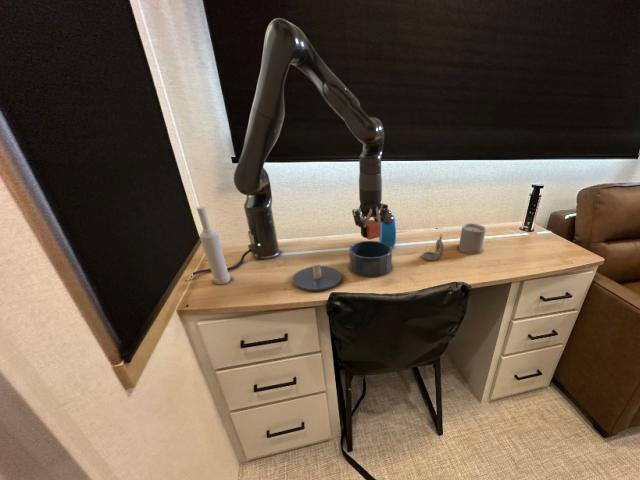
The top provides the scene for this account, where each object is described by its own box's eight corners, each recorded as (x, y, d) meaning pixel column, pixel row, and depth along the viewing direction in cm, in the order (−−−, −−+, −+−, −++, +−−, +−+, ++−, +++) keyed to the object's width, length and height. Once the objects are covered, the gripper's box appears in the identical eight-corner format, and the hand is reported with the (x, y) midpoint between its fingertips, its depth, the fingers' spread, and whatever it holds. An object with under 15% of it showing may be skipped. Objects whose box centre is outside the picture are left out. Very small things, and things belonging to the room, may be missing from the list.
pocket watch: (419, 257, 130) (421, 234, 124) (431, 251, 135) (434, 229, 130) (434, 264, 125) (437, 240, 120) (447, 257, 130) (450, 235, 125)
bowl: (366, 281, 111) (365, 262, 107) (342, 264, 121) (341, 246, 117) (399, 269, 120) (400, 251, 116) (374, 255, 130) (375, 237, 125)
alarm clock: (395, 251, 134) (396, 216, 125) (381, 251, 133) (381, 216, 124) (391, 239, 144) (392, 206, 136) (378, 239, 143) (378, 206, 135)
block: (369, 239, 111) (369, 226, 108) (361, 235, 114) (360, 222, 111) (380, 236, 113) (380, 223, 111) (372, 232, 116) (372, 219, 114)
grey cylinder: (484, 253, 136) (489, 231, 130) (462, 254, 135) (466, 231, 129) (474, 241, 147) (478, 220, 141) (454, 241, 146) (457, 220, 140)
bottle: (217, 276, 109) (195, 204, 95) (233, 276, 109) (213, 205, 96) (211, 284, 104) (187, 210, 91) (227, 284, 105) (205, 210, 91)
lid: (307, 297, 101) (305, 280, 97) (285, 277, 111) (282, 261, 107) (351, 282, 110) (350, 266, 107) (327, 264, 120) (325, 249, 117)
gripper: (380, 182, 110) (380, 228, 120) (345, 187, 102) (348, 236, 112) (394, 186, 106) (392, 234, 115) (358, 192, 98) (360, 243, 107)
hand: (370, 235), depth 113 cm, fingers closed on block, 5 cm apart
